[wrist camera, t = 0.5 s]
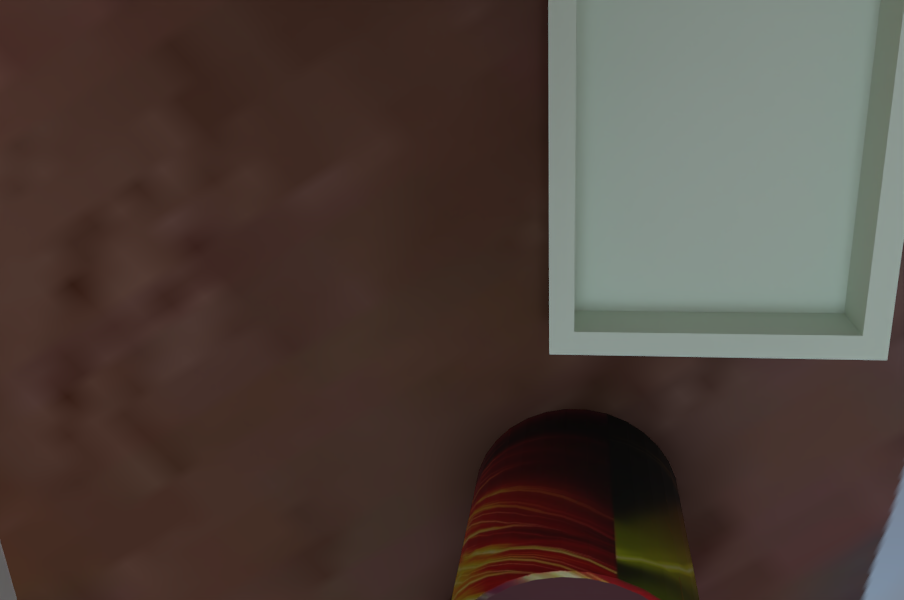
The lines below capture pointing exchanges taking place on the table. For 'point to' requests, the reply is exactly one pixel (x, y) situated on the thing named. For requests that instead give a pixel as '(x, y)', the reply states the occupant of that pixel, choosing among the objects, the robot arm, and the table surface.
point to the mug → (575, 516)
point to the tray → (725, 177)
